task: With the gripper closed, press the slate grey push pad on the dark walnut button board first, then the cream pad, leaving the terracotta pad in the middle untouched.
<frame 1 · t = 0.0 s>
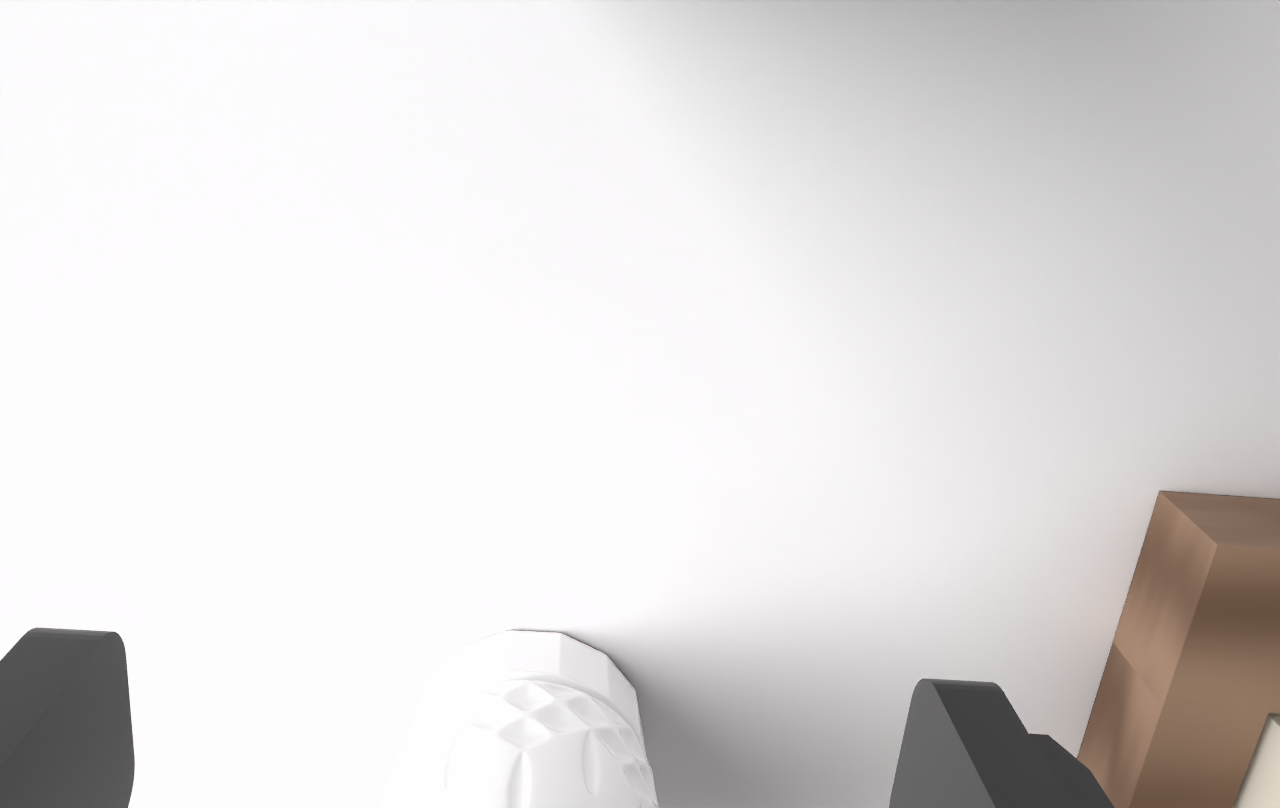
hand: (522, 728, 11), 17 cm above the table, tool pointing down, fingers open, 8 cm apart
white cup: (529, 717, 32), on the table
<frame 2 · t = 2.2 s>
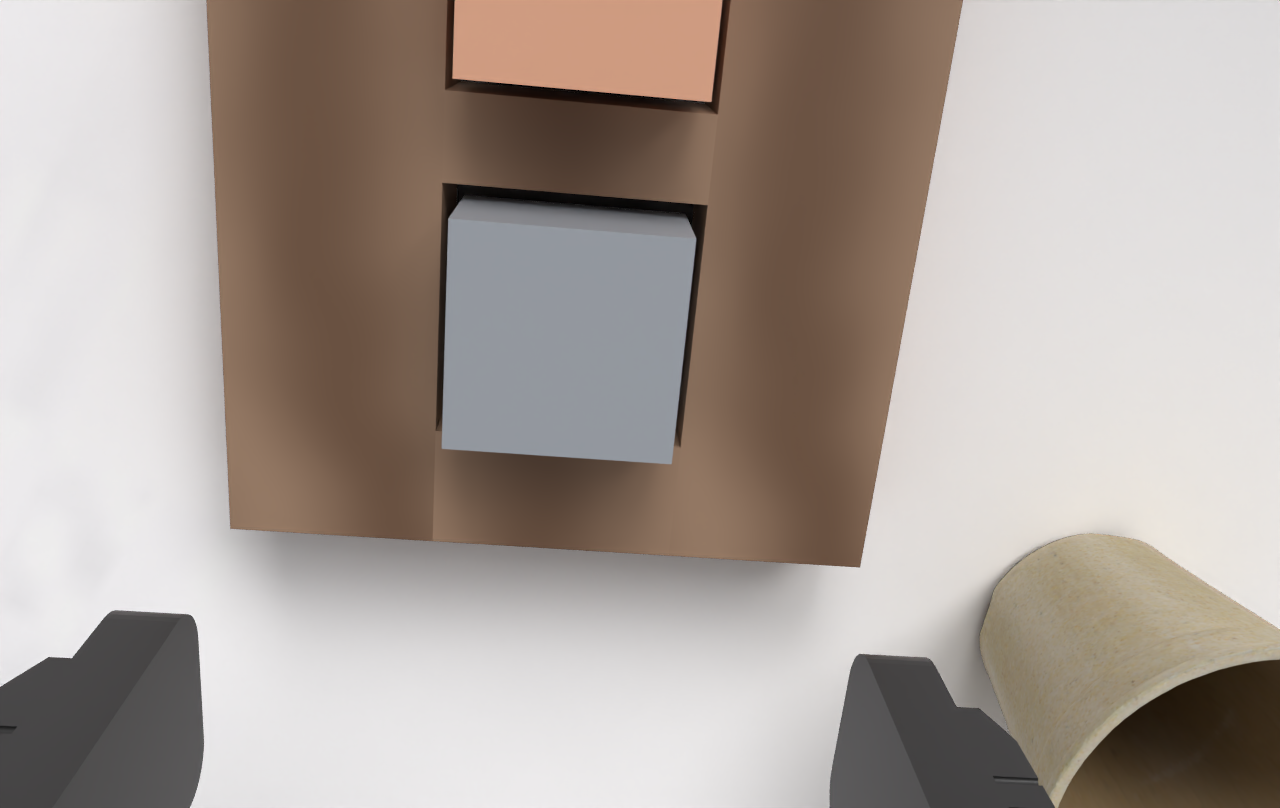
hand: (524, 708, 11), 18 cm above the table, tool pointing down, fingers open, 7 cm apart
flower pot: (1078, 618, 32), on the table
grey pad: (566, 327, 25), point 4 cm above the table, slide at 0.0 cm
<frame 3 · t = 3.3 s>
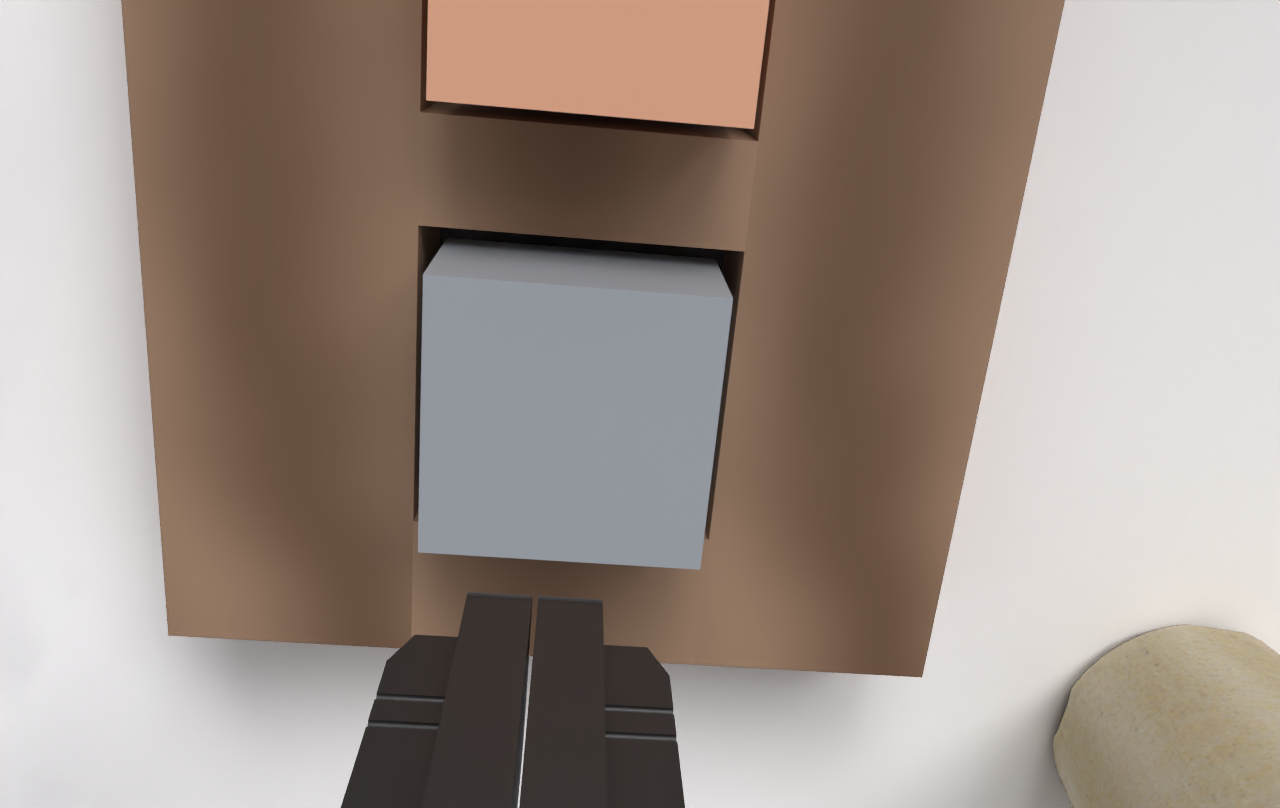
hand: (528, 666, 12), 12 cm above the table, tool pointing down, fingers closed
flower pot: (1167, 718, 28), on the table
grey pad: (571, 400, 20), point 3 cm above the table, slide at 0.0 cm
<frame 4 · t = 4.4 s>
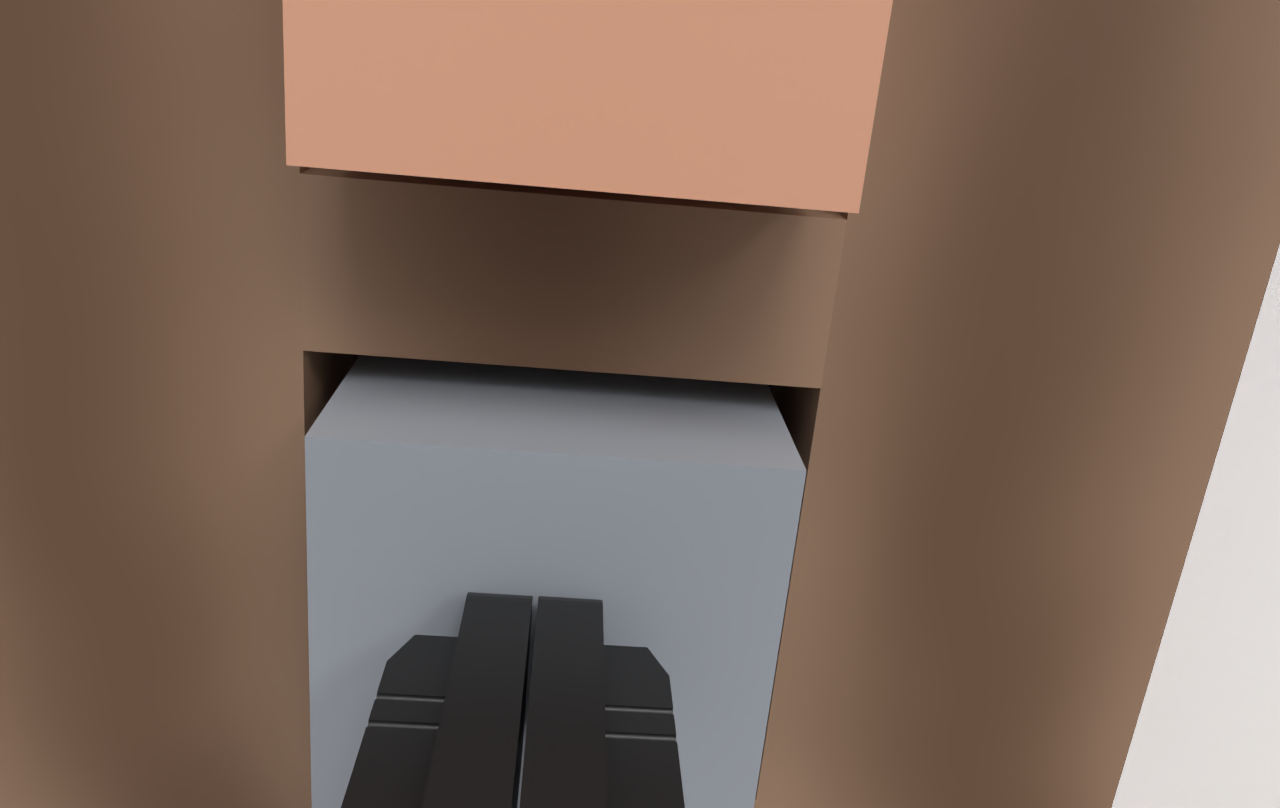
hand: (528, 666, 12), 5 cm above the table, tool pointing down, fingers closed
grey pad: (550, 598, 13), point 3 cm above the table, slide at 0.5 cm, touching gripper
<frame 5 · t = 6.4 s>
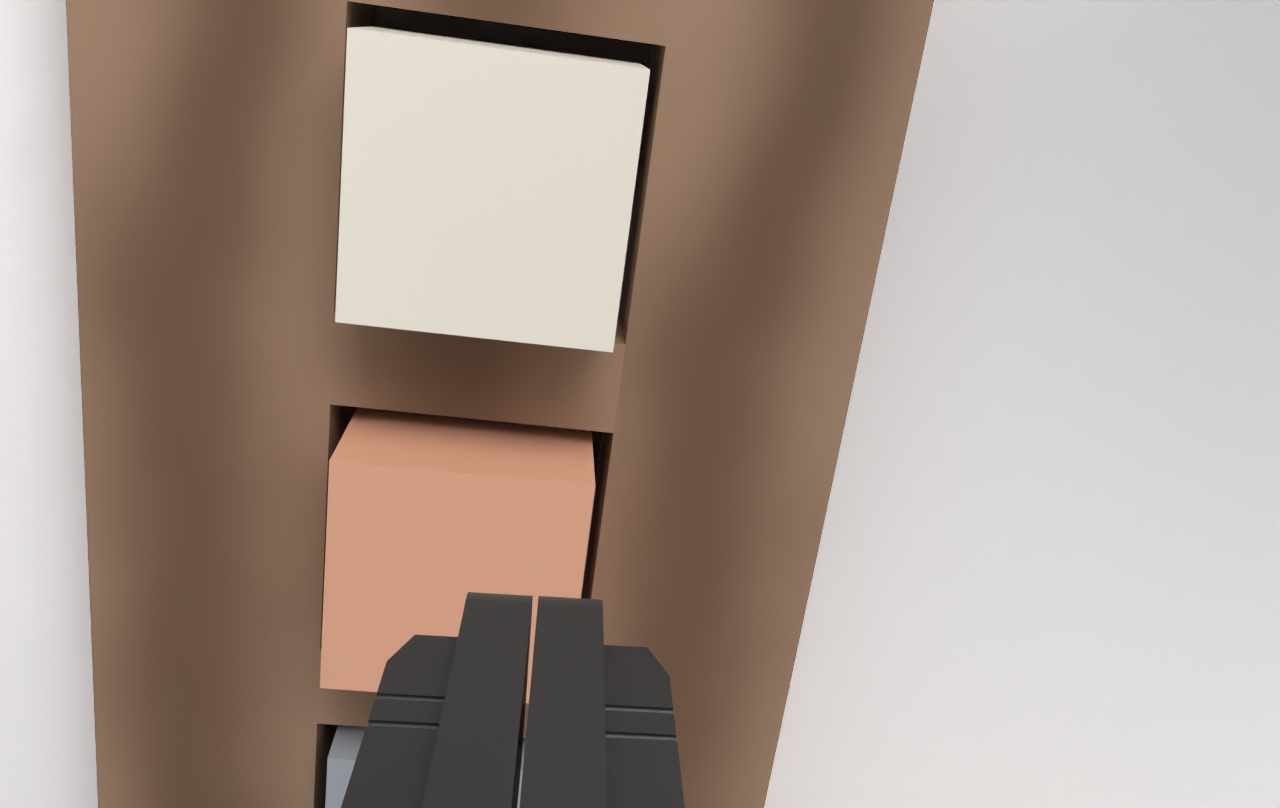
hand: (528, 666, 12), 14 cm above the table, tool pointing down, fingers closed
cream pad: (493, 187, 21), point 3 cm above the table, slide at 0.0 cm
button board: (473, 488, 27), on the table
terracotta pad: (460, 555, 23), point 4 cm above the table, slide at 0.0 cm
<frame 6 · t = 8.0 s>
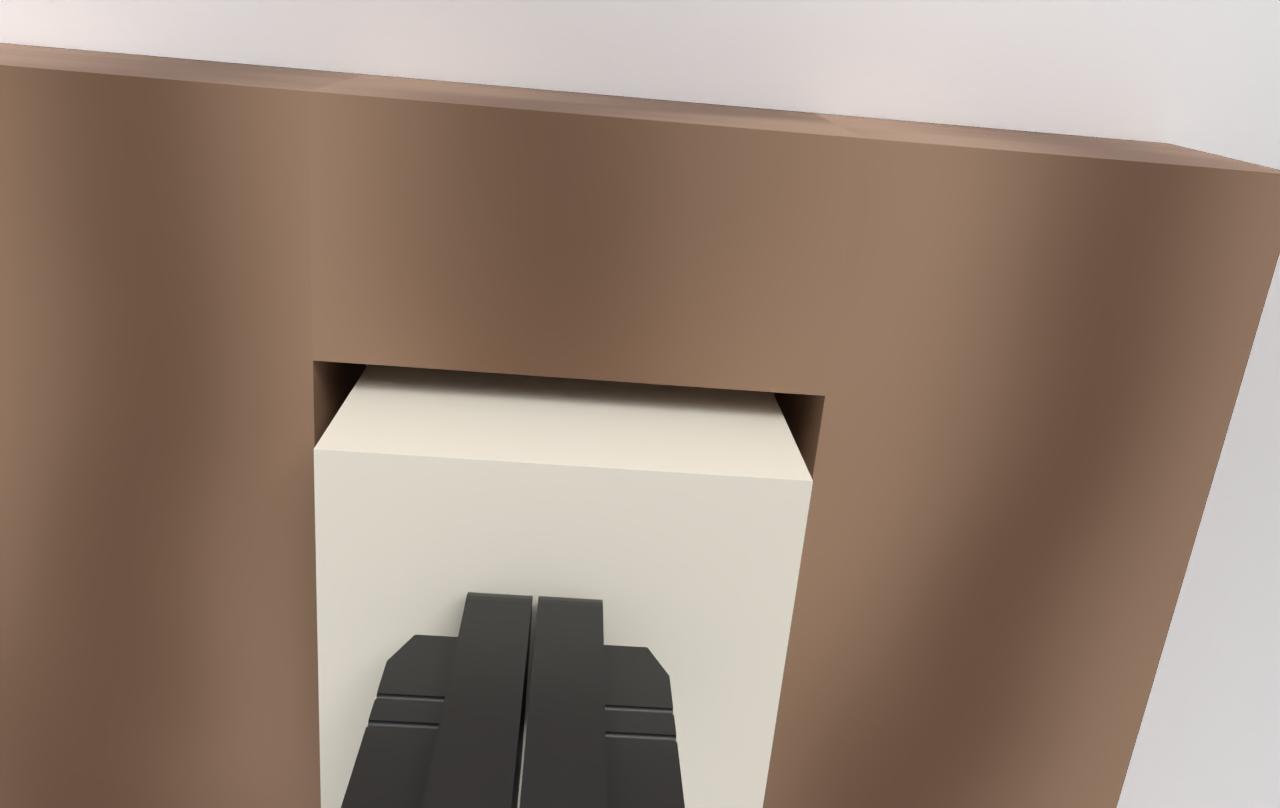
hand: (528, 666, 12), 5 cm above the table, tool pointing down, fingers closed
cream pad: (557, 607, 13), point 3 cm above the table, slide at 0.4 cm, touching gripper
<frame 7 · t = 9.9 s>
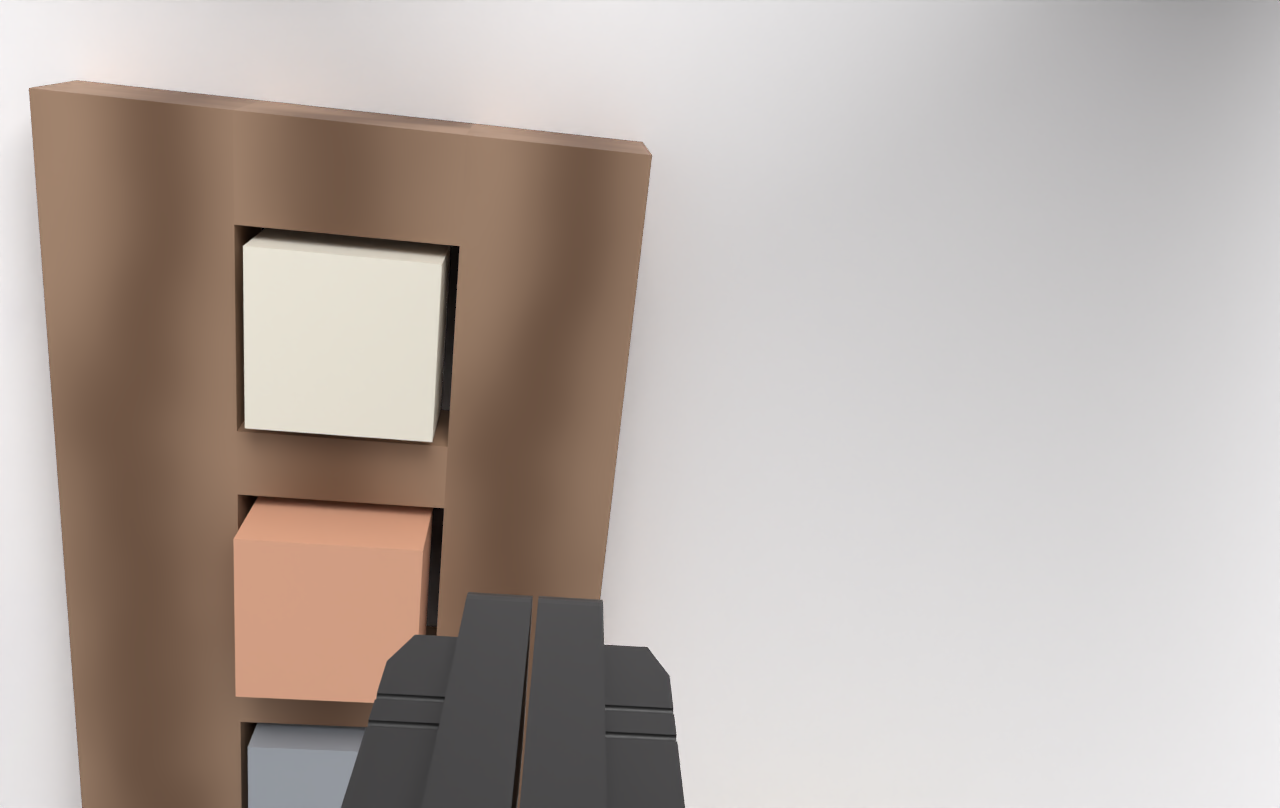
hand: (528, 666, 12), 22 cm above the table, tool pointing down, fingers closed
cream pad: (350, 332, 31), point 2 cm above the table, slide at 1.3 cm
button board: (355, 544, 36), on the table
grey pad: (339, 785, 36), point 2 cm above the table, slide at 1.3 cm
terracotta pad: (336, 598, 32), point 3 cm above the table, slide at 0.0 cm
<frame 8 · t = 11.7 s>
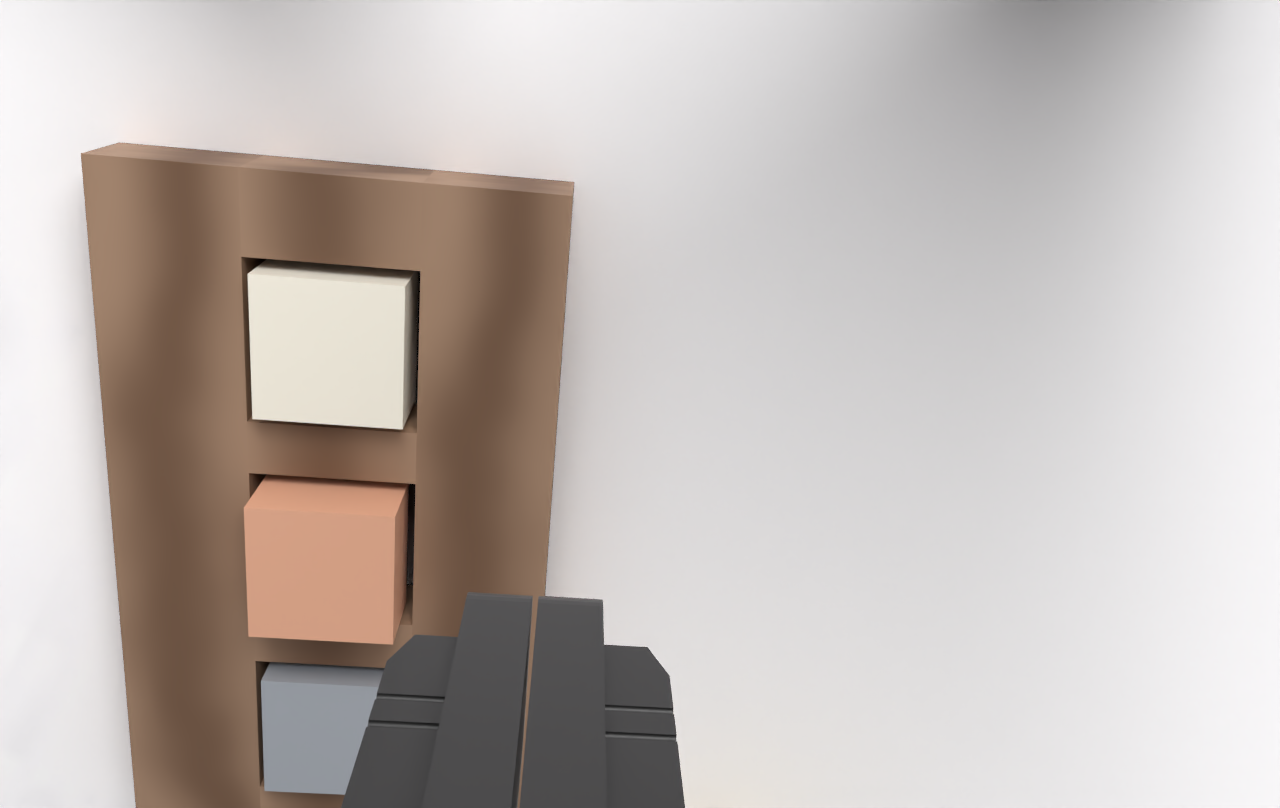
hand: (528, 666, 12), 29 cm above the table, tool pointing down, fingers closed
cream pad: (337, 341, 38), point 2 cm above the table, slide at 1.3 cm
button board: (349, 516, 43), on the table
grey pad: (338, 716, 44), point 2 cm above the table, slide at 1.3 cm
terracotta pad: (329, 557, 40), point 3 cm above the table, slide at 0.0 cm
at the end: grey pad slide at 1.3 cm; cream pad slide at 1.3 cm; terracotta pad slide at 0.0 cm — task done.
